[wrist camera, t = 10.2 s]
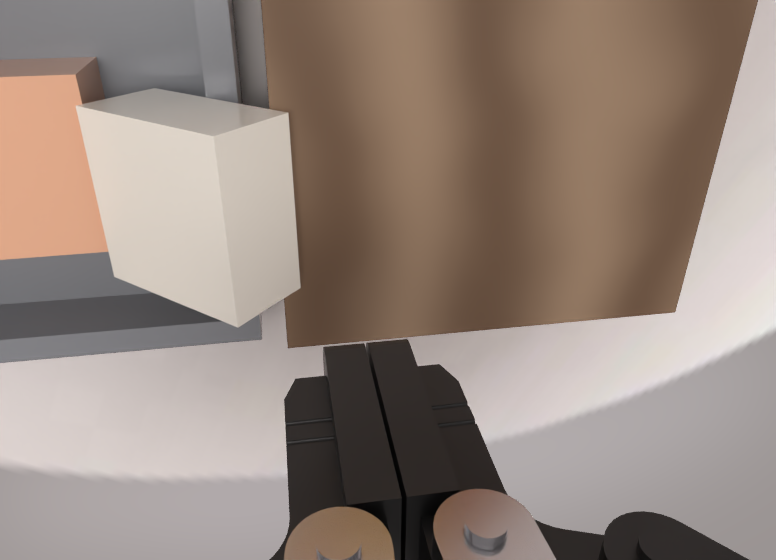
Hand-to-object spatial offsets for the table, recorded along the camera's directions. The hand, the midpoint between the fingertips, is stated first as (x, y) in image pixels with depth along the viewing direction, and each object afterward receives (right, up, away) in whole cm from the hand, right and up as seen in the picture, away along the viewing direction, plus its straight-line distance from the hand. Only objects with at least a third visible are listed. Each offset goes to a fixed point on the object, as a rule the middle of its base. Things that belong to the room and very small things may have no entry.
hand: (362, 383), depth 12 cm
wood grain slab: (+4, +8, +15) cm, 18 cm away
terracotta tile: (-12, +5, +9) cm, 16 cm away
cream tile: (-5, +5, +11) cm, 13 cm away
